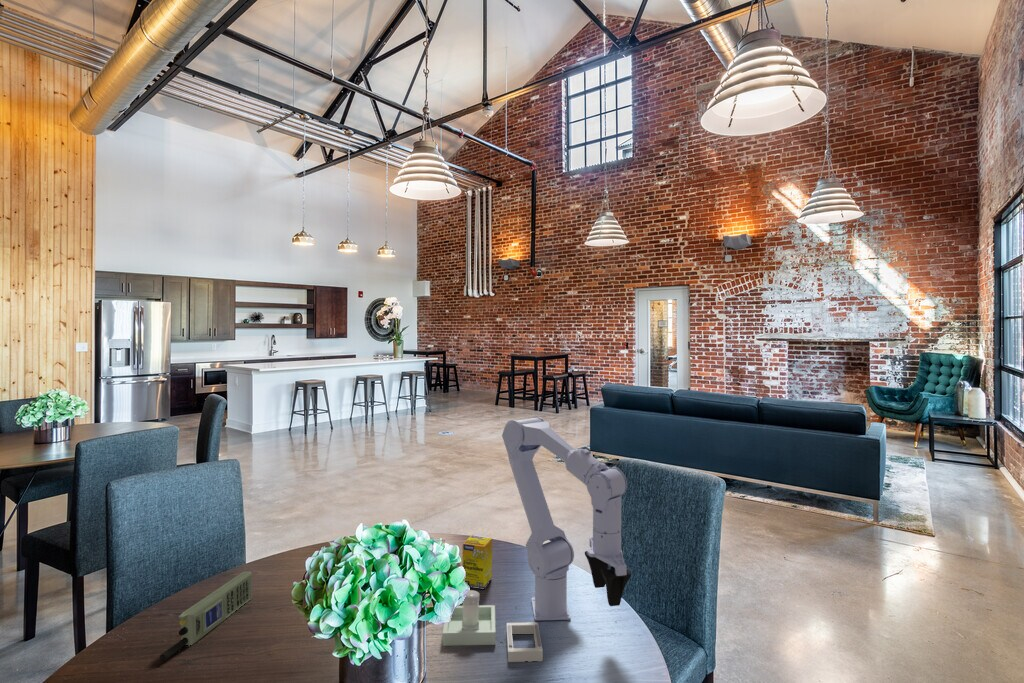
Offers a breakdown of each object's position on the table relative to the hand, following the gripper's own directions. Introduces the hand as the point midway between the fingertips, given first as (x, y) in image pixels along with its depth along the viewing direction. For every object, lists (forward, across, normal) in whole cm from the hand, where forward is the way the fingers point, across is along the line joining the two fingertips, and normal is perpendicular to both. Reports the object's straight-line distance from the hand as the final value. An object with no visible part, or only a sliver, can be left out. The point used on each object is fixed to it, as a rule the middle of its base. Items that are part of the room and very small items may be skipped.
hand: (606, 595), depth 104 cm
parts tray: (+9, -10, -27) cm, 30 cm away
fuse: (+9, -10, -27) cm, 30 cm away
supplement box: (+10, -30, -22) cm, 39 cm away
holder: (+9, -2, -17) cm, 19 cm away
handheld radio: (+10, -22, -81) cm, 84 cm away
